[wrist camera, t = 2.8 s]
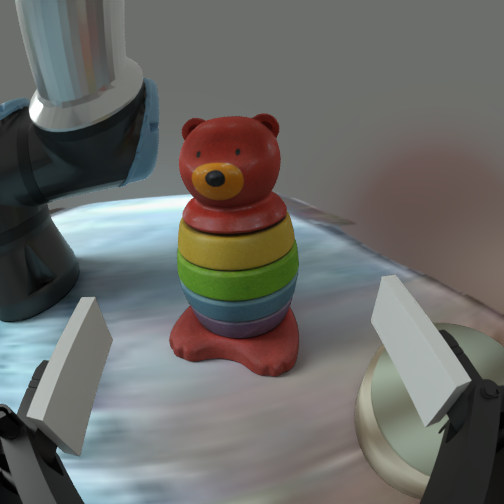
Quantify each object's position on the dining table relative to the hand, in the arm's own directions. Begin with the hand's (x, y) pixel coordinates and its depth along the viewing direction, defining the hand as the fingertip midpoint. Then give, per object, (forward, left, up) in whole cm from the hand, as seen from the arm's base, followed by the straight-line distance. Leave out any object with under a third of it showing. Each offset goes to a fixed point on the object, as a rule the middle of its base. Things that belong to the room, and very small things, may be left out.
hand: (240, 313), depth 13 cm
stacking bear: (-10, +2, -10) cm, 14 cm away
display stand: (+5, +14, -10) cm, 18 cm away
